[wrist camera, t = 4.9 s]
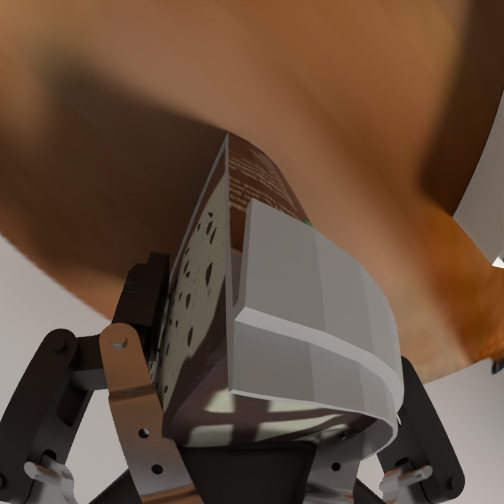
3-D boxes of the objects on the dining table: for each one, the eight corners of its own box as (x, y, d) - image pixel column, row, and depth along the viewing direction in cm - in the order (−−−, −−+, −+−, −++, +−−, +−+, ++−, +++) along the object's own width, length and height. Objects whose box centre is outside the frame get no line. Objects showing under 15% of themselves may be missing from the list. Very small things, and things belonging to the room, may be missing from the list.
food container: (253, 332, 18) (261, 488, 10) (159, 306, 16) (131, 475, 9) (375, 165, 11) (521, 374, 3) (244, 97, 10) (263, 359, 2)
